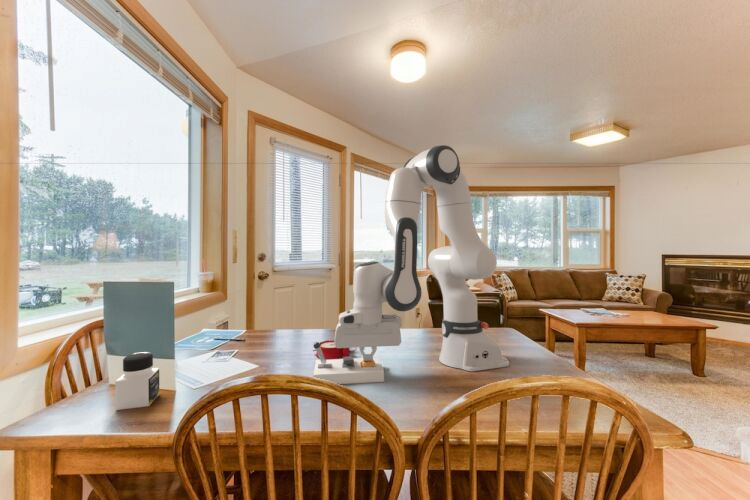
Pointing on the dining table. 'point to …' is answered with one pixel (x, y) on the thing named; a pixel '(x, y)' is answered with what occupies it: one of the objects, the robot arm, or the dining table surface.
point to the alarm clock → (333, 350)
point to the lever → (319, 352)
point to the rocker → (348, 360)
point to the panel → (349, 371)
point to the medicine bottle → (137, 382)
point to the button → (367, 364)
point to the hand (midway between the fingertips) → (367, 360)
